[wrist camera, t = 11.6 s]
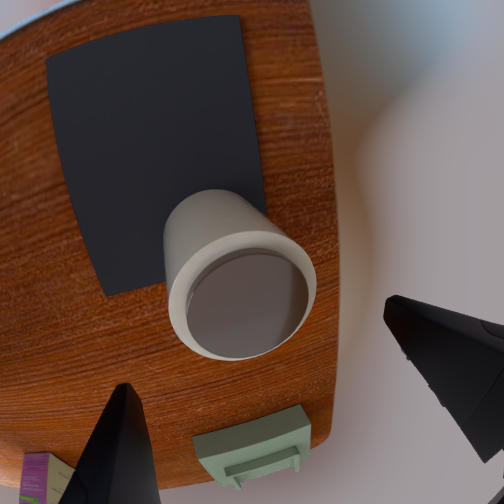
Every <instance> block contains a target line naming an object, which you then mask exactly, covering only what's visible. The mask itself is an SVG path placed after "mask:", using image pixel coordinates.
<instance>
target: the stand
mask: <svg viewBox="0 0 504 504" xmlns="http://www.w3.org/2000/svg"><path fill="white" fill-rule="evenodd" d="M310 437H311V422H310V421H309V419H308V417H307V415H306V414H305V412H304V410H303V408H302V407H301V405H300V404H298V405H295V406H293V407H290V408H287V409H284V410H282V411H279V412H276V413H273V414H270V415H267V416H264V417H261V418H258V419H255V420H252V421H249V422H246V423H242V424H239V425H236V426H232V427H229V428H225V429H221V430H218V431H214V432H210V433H206V434H202V435H197V436H193V437H192V438H193V442H194V446H195V450H196V455H197V459H198V460H199V461H200V463H201V464H202V465H203V466H204V467H205V469H206V470H207V471H208V472H209V473H210V474H211V476H212V477H213V478H214V479H215V480H216V481H217V482H218V483H219V484H220V486H221V487H225V486H229V485H233V486H234V487H235V488H236V490H237V491H240V490H242V489H241V486H240V482H244V481H247V480H251V479H254V478H258V477H261V476H264V475H267V474H270V473H273V472H276V471H279V470H282V469H285V468H288V467H290V466H293V468H294V470H295V472H299V471H300V463H301V462H303V461H306V460H308V459H309V452H310Z"/></svg>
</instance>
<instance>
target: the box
mask: <svg viewBox="0 0 504 504" xmlns="http://www.w3.org/2000/svg"><path fill="white" fill-rule="evenodd" d="M74 471H76V470H75V469H73V468H71V467H70V466H68V465H67V464H65V463H64V462H62V461H61V460H59V459H58V458H56V457H55V456H54V455H53V454H51V453H50V452H42V453H25V454H24V460H23V467H22V475H21V485H20V497H19V504H58V502H59V500H60V498H61V497H62V495H63V493H64V491H65V489H66V487H67V485H68V483H69V481H70V478H71V476H72V474H73V472H74Z"/></svg>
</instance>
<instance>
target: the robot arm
mask: <svg viewBox="0 0 504 504" xmlns="http://www.w3.org/2000/svg"><path fill="white" fill-rule="evenodd" d="M383 318H384V321H385V323H386V325H387V326H388V328H389V329H390V331H391V332H392V334H393V336H394V337H395V338H396V340H397V342H398V343H399V345H400V346H401V348H402V350H403V351H404V353H405V354H406V355H407V357H406V358H407V360H411V362H412V363H413V364H414V366H415V367H416V368H417V369H418V371H419V372H420V373H421V375H422V376H423V377H424V379H425V380H426V381H427V383H428V384H429V385H428V386H429V387H430V389H431V390H432V391H433V392H434V393H435V395H436V396H437V398H438V400H439V402H440V403H441V405H442V406H443V407H446V409H447V410H448V411H449V413H450V414H451V415H452V417H453V418H454V420H455V421H456V423H457V424H458V426H459V427H460V429H461V430H462V431H463V433H464V434H465V436H466V437H467V439H468V440H469V442H470V443H471V445H472V446H473V448H474V449H475V451H476V452H477V454H478V455H479V457H480V458H481V460H482V461H483V462H484V463H486V462H487V461H488V460H490V459H491V458H492V457H493V456H494V455H495V454H497V453H498V452H499V451H500V450H501V449H503V451H504V325H500V324H495V323H491V322H488V321H485V320H481V319H478V318H474V317H471V316H468V315H464V314H461V313H457V312H454V311H450V310H447V309H444V308H440V307H437V306H433V305H430V304H426V303H423V302H419V301H416V300H413V299H409V298H406V297H403V296H399V295H393V296H391V297H389V298H387V300H386V302H385V308H384V315H383ZM75 470H76V471H74V472H73V474H72V476H71V478H70V481H69V483H68V485H67V487H66V489H65V491H64V493H63V495H62V497H61V498H60V500H59V502H58V504H161V501H160V497H159V491H158V485H157V480H156V474H155V467H154V461H153V453H152V447H151V442H150V437H149V433H148V429H147V425H146V420H145V416H144V411H143V406H142V402H141V399H140V397H139V396H138V394H137V393H136V391H135V390H134V388H133V387H132V385H131V384H130V383H123V384H118V385H117V386H116V387H115V389H114V391H113V393H112V395H111V397H110V399H109V401H108V403H107V404H106V406H105V408H104V410H103V412H102V414H101V416H100V418H99V420H98V422H97V424H96V426H95V428H94V430H93V432H92V434H91V436H90V438H89V440H88V442H87V444H86V446H85V449H84V451H83V453H82V455H81V457H80V459H79V461H78V463H77V465H76V468H75ZM503 478H504V476H503ZM488 504H504V487H503V488H502V489H501V490H500V491H499V492H498V493H497V495H496V496H495V497H494V498H493V499H492V500H491V501H490V502H489V503H488Z"/></svg>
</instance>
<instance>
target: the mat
mask: <svg viewBox="0 0 504 504" xmlns="http://www.w3.org/2000/svg"><path fill="white" fill-rule="evenodd" d="M46 71H47V82H48V91H49V99H50V107H51V113H52V120H53V125H54V131H55V136H56V142H57V146H58V151H59V156H60V160H61V164H62V169H63V173H64V177H65V181H66V184H67V188H68V192H69V195H70V199H71V202H72V206H73V209H74V212H75V215H76V219H77V222H78V225H79V228H80V231H81V234H82V237H83V239H84V242H85V245H86V248H87V251H88V253H89V256H90V259H91V261H92V264H93V266H94V269H95V271H96V274H97V276H98V279H99V281H100V283H101V286H102V288H103V291H104V293H105V295H106V297H107V296H111V295H115V294H119V293H123V292H126V291H130V290H134V289H138V288H142V287H145V286H149V285H153V284H157V283H161V282H164V281H166V277H165V265H164V251H163V233H164V228H165V225H166V222H167V220H168V218H169V216H170V214H171V213H172V211H173V210H174V209H175V208H176V207H177V206H178V205H179V204H180V203H181V202H182V201H183V200H184V199H186V198H188V197H189V196H191V195H193V194H195V193H198V192H201V191H205V190H211V189H220V190H227V191H231V192H233V193H236V194H238V195H240V196H242V197H243V198H244V199H246V200H247V201H248V202H249V203H251V204H252V205H253V206H254V207H255V208H257V209H258V210H259V211H260V212H261V213H262V214H264V215H265V216H266V217H267V210H266V202H265V194H264V186H263V178H262V171H261V163H260V156H259V148H258V141H257V134H256V126H255V119H254V112H253V105H252V98H251V91H250V85H249V78H248V71H247V65H246V58H245V52H244V45H243V39H242V33H241V26H240V20H239V15H226V16H212V17H202V18H193V19H185V20H178V21H172V22H166V23H160V24H155V25H150V26H145V27H141V28H136V29H132V30H128V31H124V32H120V33H117V34H113V35H110V36H106V37H103V38H100V39H96V40H93V41H90V42H87V43H84V44H82V45H79V46H76V47H73V48H71V49H68V50H65V51H63V52H60V53H58V54H56V55H53V56H51V57H49V58H46Z"/></svg>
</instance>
